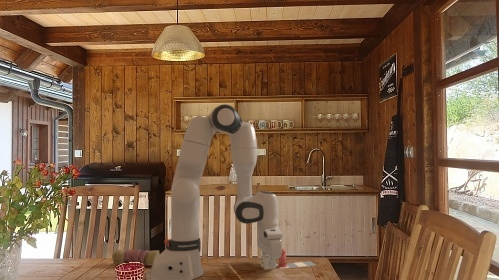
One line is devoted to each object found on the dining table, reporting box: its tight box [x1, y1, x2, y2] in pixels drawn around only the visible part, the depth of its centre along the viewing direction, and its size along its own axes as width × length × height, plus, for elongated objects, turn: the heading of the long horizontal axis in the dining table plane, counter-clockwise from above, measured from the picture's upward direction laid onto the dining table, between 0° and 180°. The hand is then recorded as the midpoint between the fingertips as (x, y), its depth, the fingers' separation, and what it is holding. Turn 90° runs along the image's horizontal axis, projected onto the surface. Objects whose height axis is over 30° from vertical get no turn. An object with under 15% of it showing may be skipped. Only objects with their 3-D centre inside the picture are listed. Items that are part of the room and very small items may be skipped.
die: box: [260, 254, 277, 270], centre depth 158 cm, size 6×5×5 cm
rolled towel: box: [112, 249, 161, 266], centre depth 166 cm, size 8×8×20 cm
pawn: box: [277, 248, 288, 268], centre depth 159 cm, size 4×4×7 cm
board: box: [276, 260, 316, 270], centre depth 161 cm, size 16×6×1 cm, turn 106°
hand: (268, 264), depth 158 cm, fingers open, 7 cm apart
